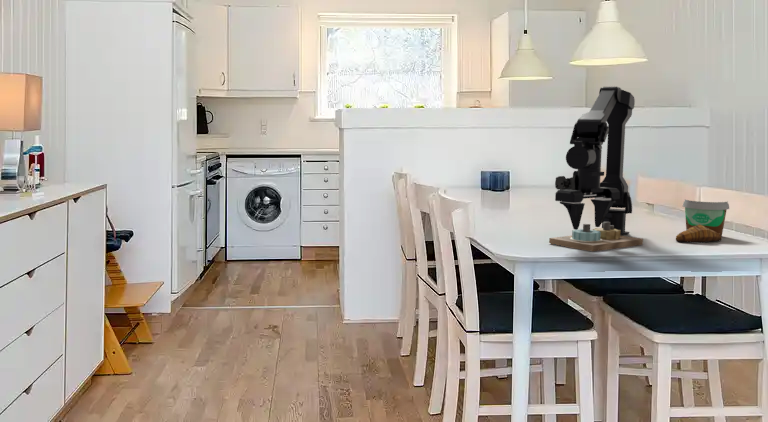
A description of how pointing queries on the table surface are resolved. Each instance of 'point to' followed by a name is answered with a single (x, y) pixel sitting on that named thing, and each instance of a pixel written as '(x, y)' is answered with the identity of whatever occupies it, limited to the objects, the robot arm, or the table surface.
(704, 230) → the croissant
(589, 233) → the teal gear
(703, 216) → the food container
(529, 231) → the table surface
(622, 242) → the gear board
